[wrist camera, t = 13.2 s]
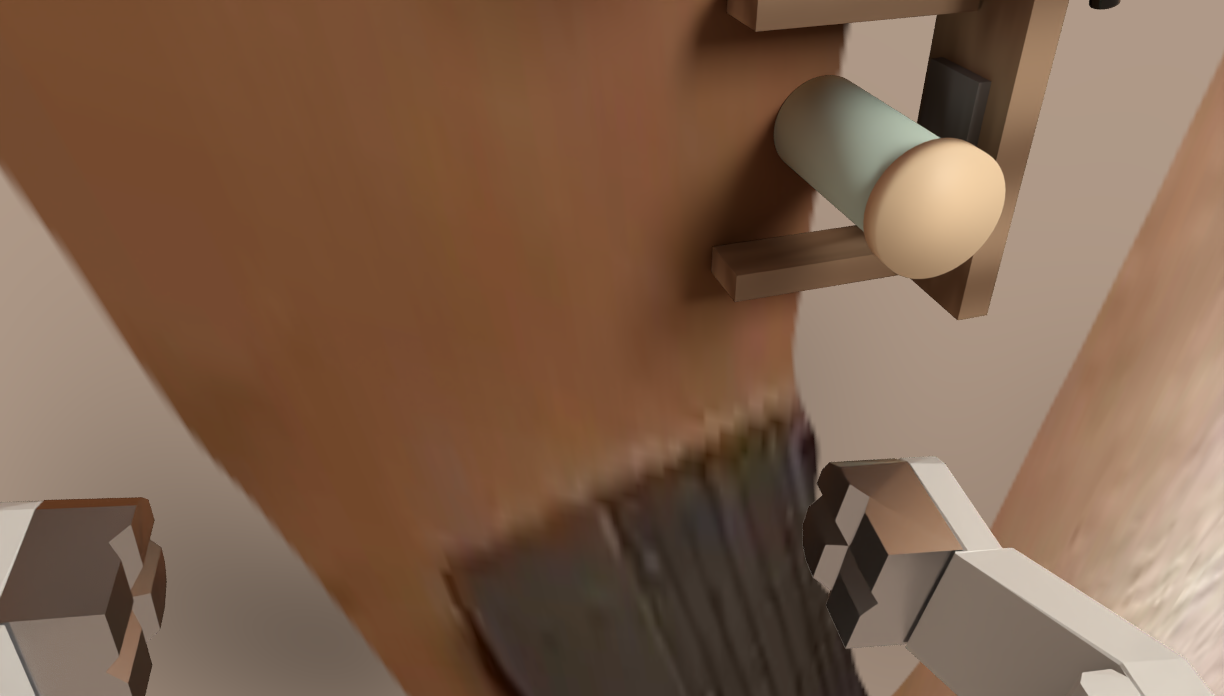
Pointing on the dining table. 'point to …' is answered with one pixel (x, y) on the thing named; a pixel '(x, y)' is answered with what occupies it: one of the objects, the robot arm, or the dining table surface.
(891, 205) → the grey-green capped cylinder
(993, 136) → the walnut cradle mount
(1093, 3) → the valve
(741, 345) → the dining table surface
